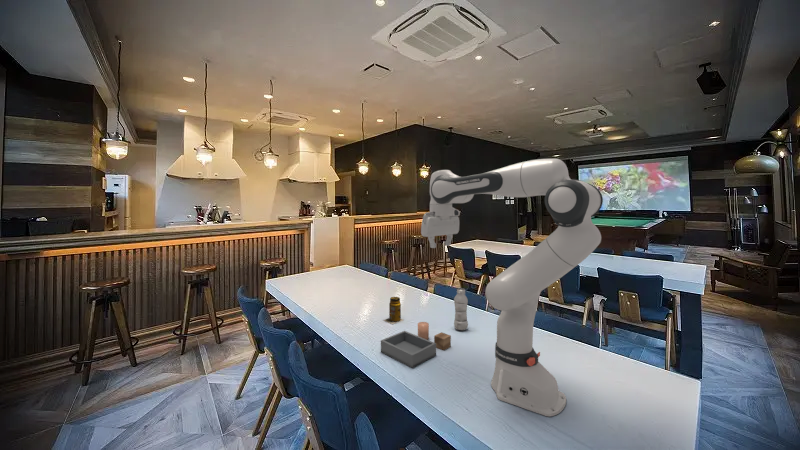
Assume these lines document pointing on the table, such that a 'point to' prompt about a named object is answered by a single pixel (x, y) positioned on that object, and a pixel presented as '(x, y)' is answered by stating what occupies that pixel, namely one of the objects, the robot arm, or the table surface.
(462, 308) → the plastic bottle
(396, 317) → the condiment
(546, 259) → the robot arm
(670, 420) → the table surface
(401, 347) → the tote
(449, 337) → the walnut cube
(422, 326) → the terracotta cylinder
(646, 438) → the table surface
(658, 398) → the table surface
